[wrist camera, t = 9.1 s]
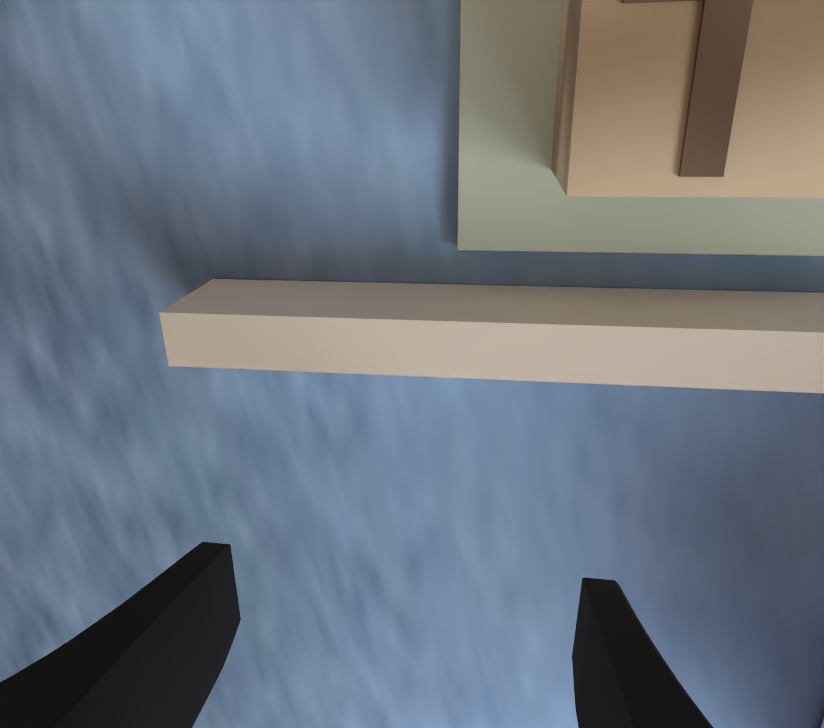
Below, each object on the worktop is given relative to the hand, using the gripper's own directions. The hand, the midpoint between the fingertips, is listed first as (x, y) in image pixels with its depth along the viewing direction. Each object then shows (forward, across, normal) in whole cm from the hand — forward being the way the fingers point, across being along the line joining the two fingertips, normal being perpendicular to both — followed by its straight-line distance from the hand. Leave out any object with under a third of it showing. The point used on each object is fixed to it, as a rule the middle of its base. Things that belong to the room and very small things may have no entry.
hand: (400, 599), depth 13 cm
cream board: (+9, -3, -3) cm, 10 cm away
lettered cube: (+9, -5, -10) cm, 14 cm away
